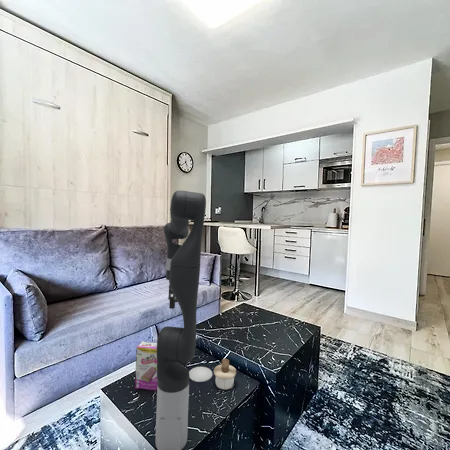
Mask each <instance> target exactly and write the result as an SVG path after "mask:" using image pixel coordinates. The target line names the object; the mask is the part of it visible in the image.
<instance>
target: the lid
mask: <svg viewBox="0 0 450 450" xmlns="http://www.w3.org/2000/svg"><path fill="white" fill-rule="evenodd" d="M213 374H214V376H215V378H216V377H217V378H220V379H224V380H227V379H232V378H233V377H234V378H235V377H236V375H237V368H235V367H234V366H233V365H231V364H230V360H229V359H228V358H223V359H221V364H218V365H216V366H215V367H214V369H213Z"/></svg>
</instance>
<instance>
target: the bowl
mask: <svg viewBox="0 0 450 450" xmlns="http://www.w3.org/2000/svg"><path fill="white" fill-rule="evenodd" d="M214 382H215V386H216V387H217V388H218V389H221V390H230V389H231V388H233V387H234V382H235V377H233V378H232V379H227V380H224V379H220V378H217V377H216V376H215V381H214Z"/></svg>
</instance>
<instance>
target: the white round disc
mask: <svg viewBox="0 0 450 450" xmlns="http://www.w3.org/2000/svg"><path fill="white" fill-rule="evenodd" d="M212 377H213V371H212V370H211V369H210V368H209V367H206V366H196V367H193V368H192V369H189V380H192V381H193V382H197V383H201V382H202V383H203V382H207V381H209V380H210V379H211V378H212Z"/></svg>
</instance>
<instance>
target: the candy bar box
mask: <svg viewBox="0 0 450 450" xmlns="http://www.w3.org/2000/svg"><path fill="white" fill-rule="evenodd" d="M135 351H136V355H135V374H134V375H135V376H134V389H137V390H145V391H154V392H155V391H156V392H157V385H158V380H157V342H151V341H141V342H140V343H139V344H138V345H136V349H135Z"/></svg>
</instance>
